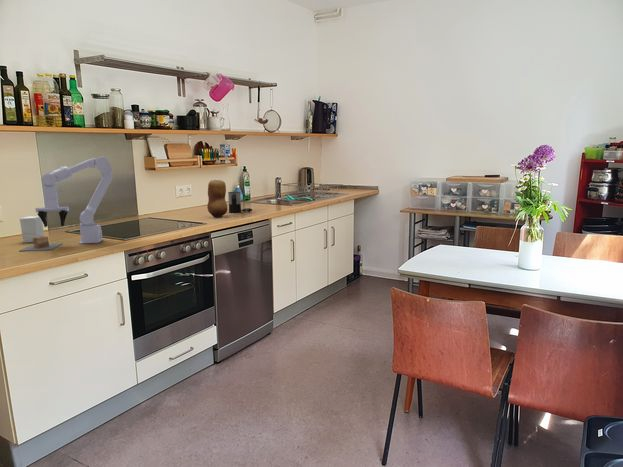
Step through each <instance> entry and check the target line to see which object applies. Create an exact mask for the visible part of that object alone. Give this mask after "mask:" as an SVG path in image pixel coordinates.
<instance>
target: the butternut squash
mask: <svg viewBox="0 0 623 467" xmlns="http://www.w3.org/2000/svg"><path fill="white" fill-rule="evenodd" d="M226 193H227V186H226V182H225V181H223V180H221V179H220V180H219V179H217V180H216V179H212V180H210V181H209V182H208V186H207V197H208V202H207V204H206V206H207V207H206V208H207V211H208V213H209V214H210V215H211V216H212V217H213V218H215V219H217V218H221V217H223V216H224V215H225V214H227V212H228V211H229V208H228V204H227V201H226V195H227V194H226Z"/></svg>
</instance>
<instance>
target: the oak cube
mask: <svg viewBox="0 0 623 467" xmlns="http://www.w3.org/2000/svg"><path fill="white" fill-rule="evenodd" d="M49 242H50V241H49V236H45V235H44V236H40V237H34V238H33V242H32V244H33V245H34V247H36V248H42V247H47V246H49V244H50V243H49Z"/></svg>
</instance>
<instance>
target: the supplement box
mask: <svg viewBox="0 0 623 467" xmlns="http://www.w3.org/2000/svg"><path fill="white" fill-rule="evenodd" d="M19 223H20V229H21V235H22V242H23V243H24V244H25V243H33V238H34V237H40V236H45V232H44V228H43V227H44V224H43V222H42V220H41V218H40V217H39V216H38V215H36V216H35V215H34V216H33V215H32V216H30V215H29V216H24V217H20V218H19Z"/></svg>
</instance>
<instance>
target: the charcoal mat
mask: <svg viewBox="0 0 623 467" xmlns="http://www.w3.org/2000/svg"><path fill="white" fill-rule="evenodd" d="M62 245H63V242H56V243H49V246H47V247H42V248H36V247H34V245H33V243H32V244H30V245H28V246H26V247H23V248H22V249H19V250H18V252H19V253H20V252H38V251H39V252H40V251H53V250H54V249H56V248H58V247H60V246H62Z"/></svg>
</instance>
